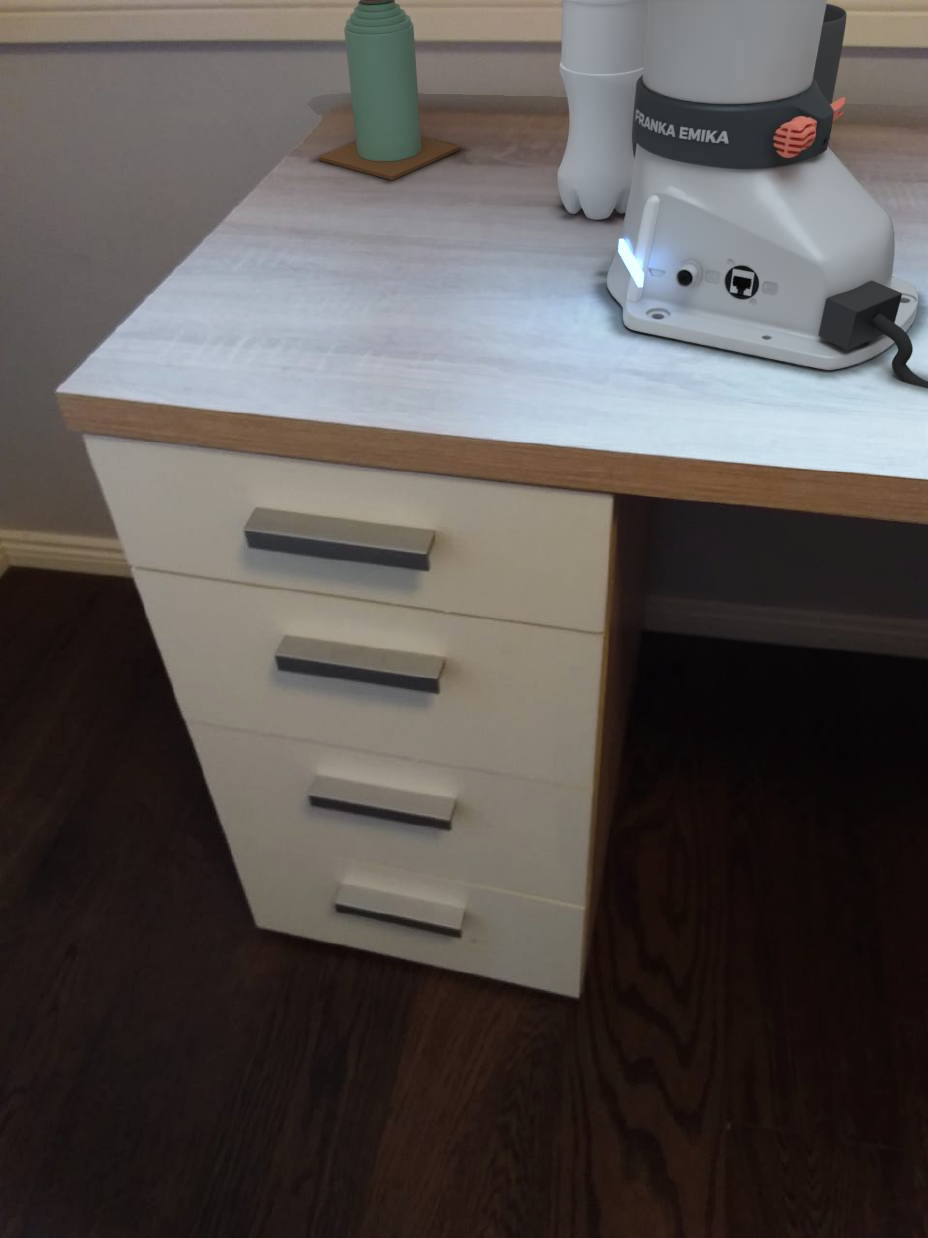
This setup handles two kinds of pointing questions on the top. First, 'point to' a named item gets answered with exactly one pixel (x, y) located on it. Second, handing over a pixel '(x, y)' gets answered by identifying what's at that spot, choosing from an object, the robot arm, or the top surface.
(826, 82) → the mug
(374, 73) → the bottle
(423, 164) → the mat
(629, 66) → the water bottle
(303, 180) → the top surface
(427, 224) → the top surface
